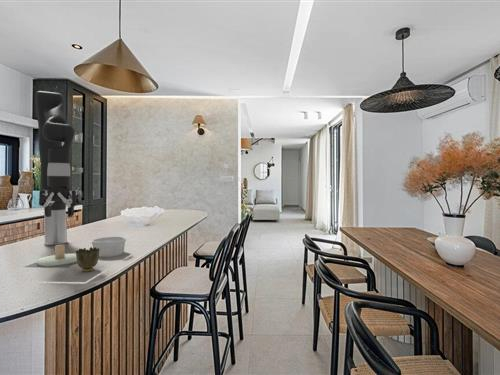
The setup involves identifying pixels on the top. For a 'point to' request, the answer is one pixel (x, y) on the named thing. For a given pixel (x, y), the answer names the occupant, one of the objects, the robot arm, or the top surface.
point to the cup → (87, 258)
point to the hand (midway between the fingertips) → (59, 216)
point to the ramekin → (109, 246)
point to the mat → (54, 266)
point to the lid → (57, 258)
